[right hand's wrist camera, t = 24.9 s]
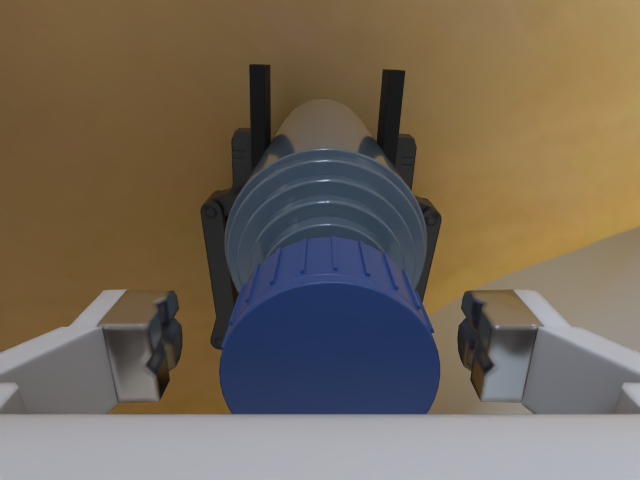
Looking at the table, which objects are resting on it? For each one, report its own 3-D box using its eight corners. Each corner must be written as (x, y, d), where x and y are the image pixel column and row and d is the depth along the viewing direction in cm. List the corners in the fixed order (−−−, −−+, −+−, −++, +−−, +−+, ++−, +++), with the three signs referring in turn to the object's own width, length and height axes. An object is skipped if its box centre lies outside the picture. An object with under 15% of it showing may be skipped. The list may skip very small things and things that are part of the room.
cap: (458, 299, 10) (491, 357, 8) (346, 418, 11) (352, 493, 9) (305, 195, 9) (300, 233, 7) (202, 337, 10) (175, 402, 8)
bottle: (282, 92, 29) (170, 182, 7) (375, 105, 30) (532, 230, 8) (273, 183, 32) (166, 459, 10) (359, 194, 32) (446, 487, 10)
